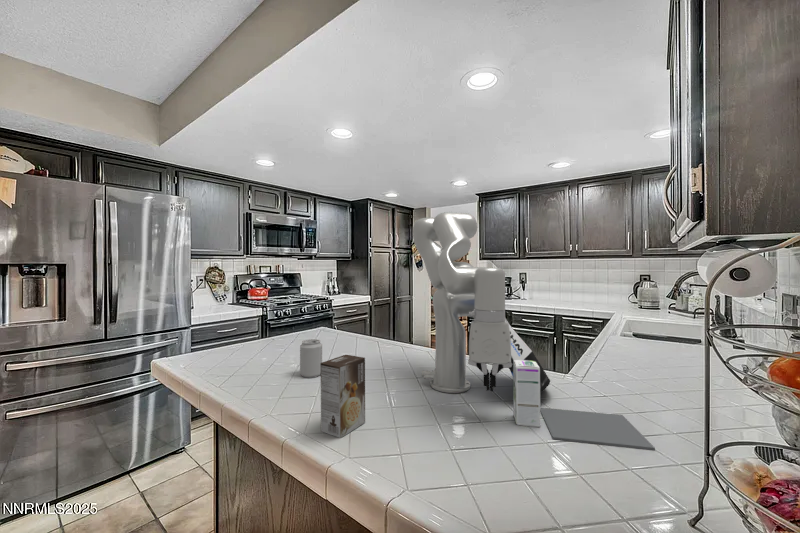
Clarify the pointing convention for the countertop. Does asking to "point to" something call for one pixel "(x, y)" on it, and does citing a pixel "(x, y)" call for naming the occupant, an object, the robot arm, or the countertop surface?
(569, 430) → the mat
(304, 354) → the can
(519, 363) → the syrup box
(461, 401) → the countertop surface
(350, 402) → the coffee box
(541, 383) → the protein powder
